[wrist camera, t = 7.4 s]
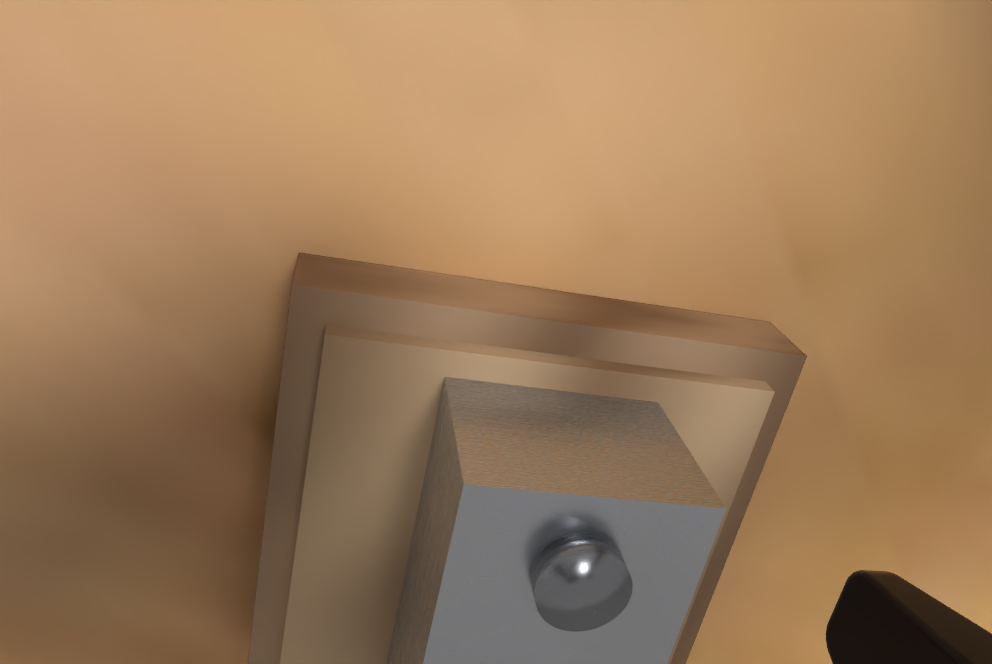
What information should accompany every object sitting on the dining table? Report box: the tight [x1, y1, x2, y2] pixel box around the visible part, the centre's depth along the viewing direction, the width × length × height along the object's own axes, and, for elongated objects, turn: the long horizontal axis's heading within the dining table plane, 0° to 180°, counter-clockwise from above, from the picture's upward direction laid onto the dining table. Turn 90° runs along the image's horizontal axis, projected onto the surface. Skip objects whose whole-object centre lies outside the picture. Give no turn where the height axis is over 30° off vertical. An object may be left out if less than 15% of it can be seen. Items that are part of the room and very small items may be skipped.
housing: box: [386, 377, 726, 664], centre depth 18 cm, size 9×5×5 cm, turn 168°
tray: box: [248, 253, 807, 664], centre depth 21 cm, size 12×12×2 cm
